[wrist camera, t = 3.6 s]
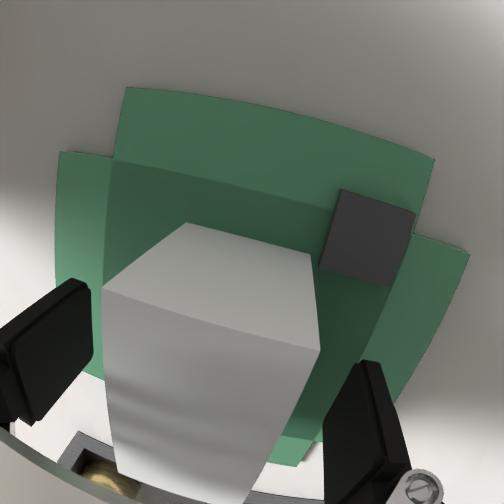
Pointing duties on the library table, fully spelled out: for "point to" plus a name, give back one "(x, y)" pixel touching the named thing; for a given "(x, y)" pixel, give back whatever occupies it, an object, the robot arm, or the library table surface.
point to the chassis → (155, 499)
